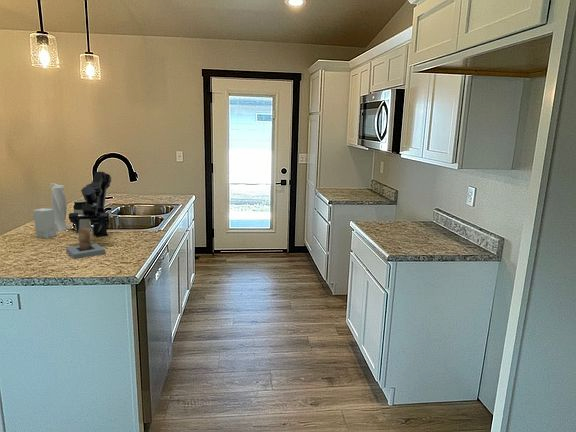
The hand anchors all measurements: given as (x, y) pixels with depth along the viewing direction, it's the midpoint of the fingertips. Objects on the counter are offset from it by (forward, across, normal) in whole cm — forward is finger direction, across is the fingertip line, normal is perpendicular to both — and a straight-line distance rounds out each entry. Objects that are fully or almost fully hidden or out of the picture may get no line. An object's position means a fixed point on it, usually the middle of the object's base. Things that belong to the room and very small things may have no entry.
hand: (87, 231), depth 205 cm
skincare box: (-12, -27, +25) cm, 39 cm away
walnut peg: (+12, 0, 0) cm, 12 cm away
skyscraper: (-23, -24, +37) cm, 49 cm away
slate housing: (+12, 0, 0) cm, 12 cm away
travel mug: (-21, -11, +35) cm, 42 cm away
